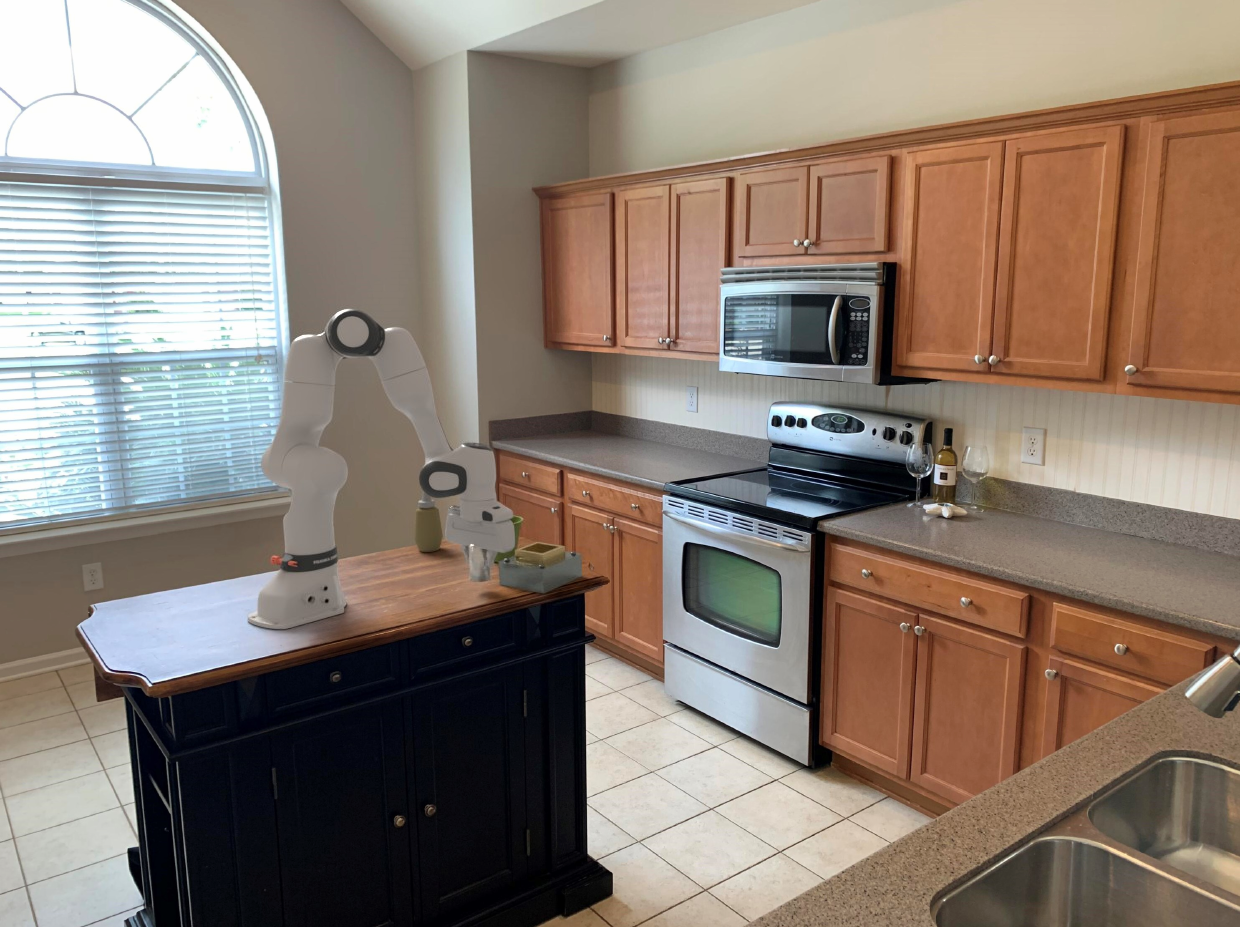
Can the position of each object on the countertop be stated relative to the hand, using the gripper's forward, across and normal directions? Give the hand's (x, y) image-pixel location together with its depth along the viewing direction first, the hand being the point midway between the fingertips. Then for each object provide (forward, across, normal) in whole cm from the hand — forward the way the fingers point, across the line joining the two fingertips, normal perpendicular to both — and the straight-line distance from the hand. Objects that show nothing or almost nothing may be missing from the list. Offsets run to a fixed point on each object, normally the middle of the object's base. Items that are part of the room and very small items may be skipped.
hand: (479, 564), depth 233 cm
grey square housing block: (+6, +7, +14) cm, 17 cm away
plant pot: (+6, -14, +24) cm, 28 cm away
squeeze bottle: (+7, -39, +20) cm, 44 cm away
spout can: (+4, 0, 0) cm, 4 cm away
